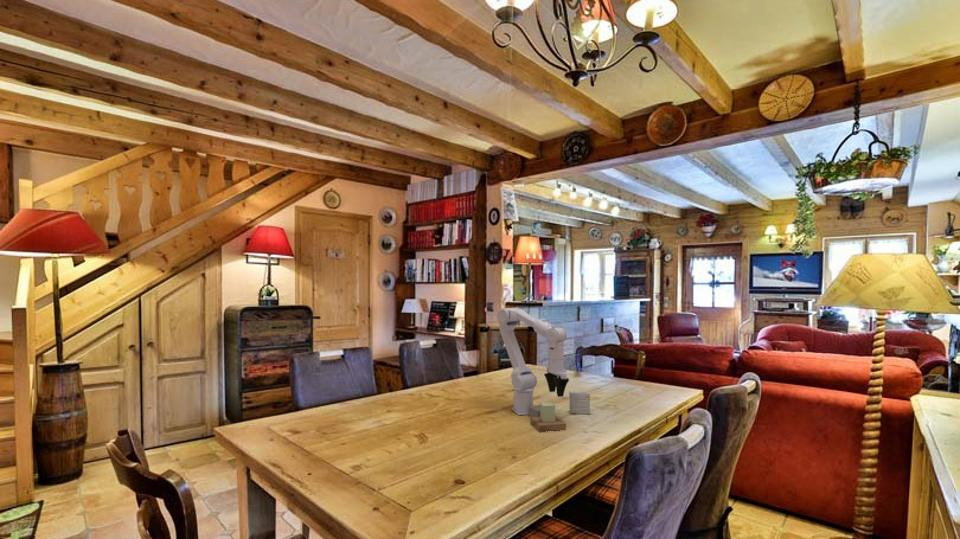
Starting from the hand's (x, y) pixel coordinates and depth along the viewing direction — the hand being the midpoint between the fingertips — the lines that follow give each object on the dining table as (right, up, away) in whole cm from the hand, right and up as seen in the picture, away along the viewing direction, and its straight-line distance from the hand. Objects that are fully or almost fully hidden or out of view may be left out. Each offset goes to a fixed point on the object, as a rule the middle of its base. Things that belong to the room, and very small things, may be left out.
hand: (556, 394), depth 170 cm
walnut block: (-4, -11, -8) cm, 14 cm away
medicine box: (+12, -11, +11) cm, 19 cm away
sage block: (-4, -8, -8) cm, 12 cm away
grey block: (-5, -11, +4) cm, 13 cm away
